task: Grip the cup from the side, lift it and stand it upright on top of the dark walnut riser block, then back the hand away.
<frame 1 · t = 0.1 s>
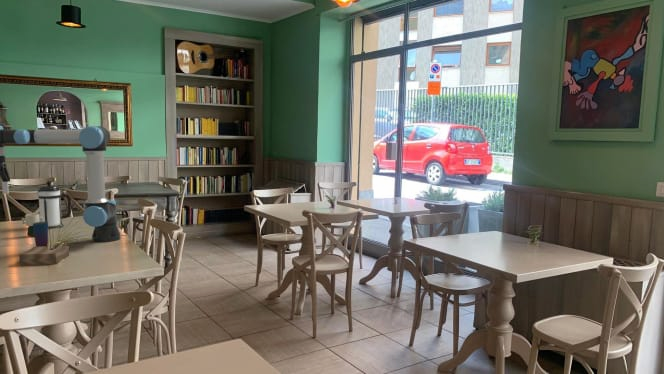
walnut riser: (45, 260, 245), on the table
character mug: (33, 236, 300), on the table
cup: (42, 251, 263), on the table
coffee press: (53, 227, 328), on the table
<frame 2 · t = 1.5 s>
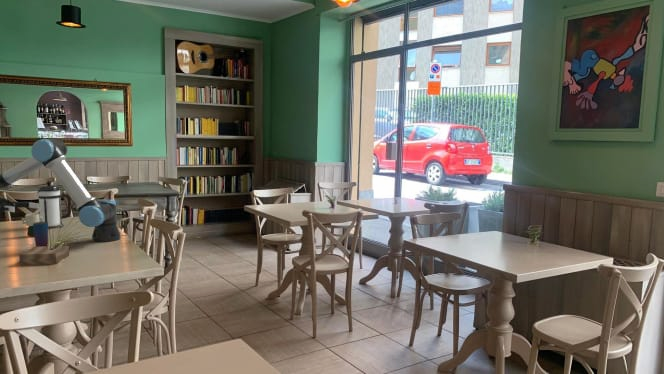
hand: (26, 207, 264), 22 cm above the table, tool horizontal, fingers open, 13 cm apart
nothing on the table moved.
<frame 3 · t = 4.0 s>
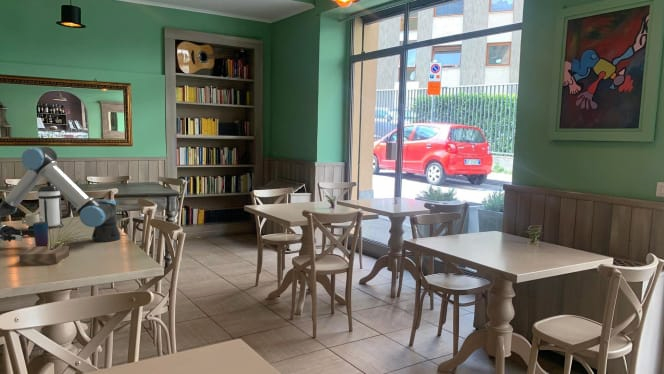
hand: (33, 235, 263), 8 cm above the table, tool horizontal, fingers open, 13 cm apart
nothing on the table moved.
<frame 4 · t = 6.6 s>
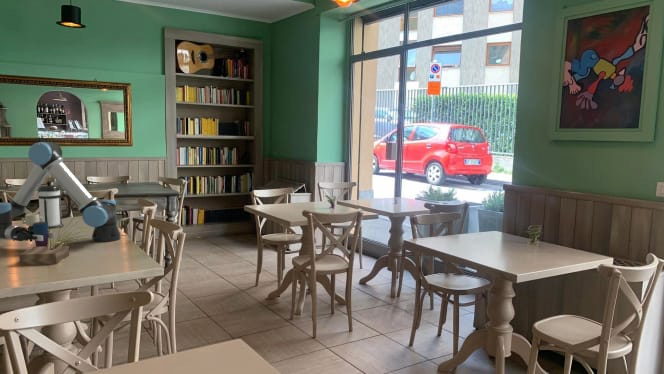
hand: (48, 237, 260), 8 cm above the table, tool horizontal, fingers closed on cup, 6 cm apart
cup: (42, 251, 263), on the table, touching gripper
everything else where it was.
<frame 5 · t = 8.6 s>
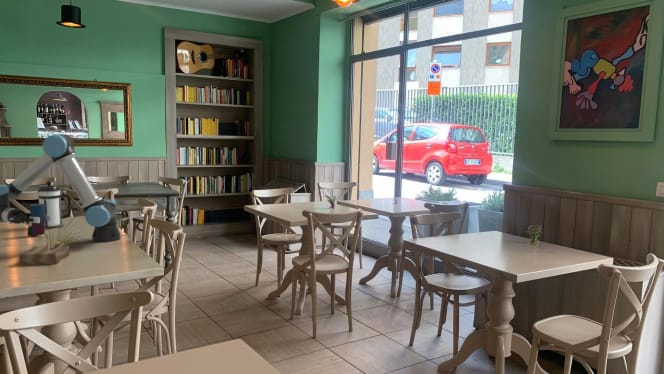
hand: (45, 219, 255), 18 cm above the table, tool horizontal, fingers closed on cup, 6 cm apart
cup: (39, 234, 258), point 10 cm above the table, touching gripper
everything else where it was.
when the fingers open (14 cm above the table, at t = 10.7 s): cup drops 1 cm, resting on walnut riser.
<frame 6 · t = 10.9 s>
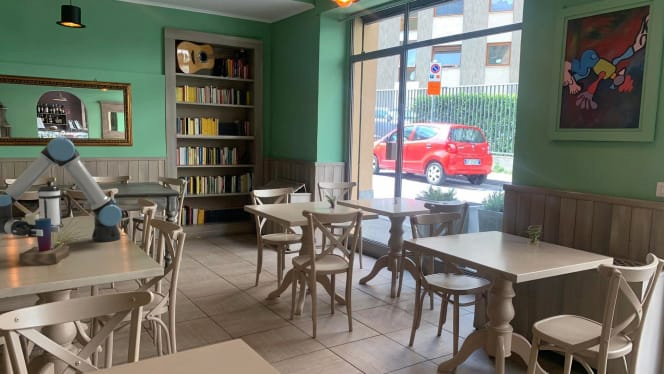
hand: (50, 231, 242), 14 cm above the table, tool horizontal, fingers open, 8 cm apart
cup: (44, 250, 245), point 5 cm above the table, touching walnut riser
everything else where it was.
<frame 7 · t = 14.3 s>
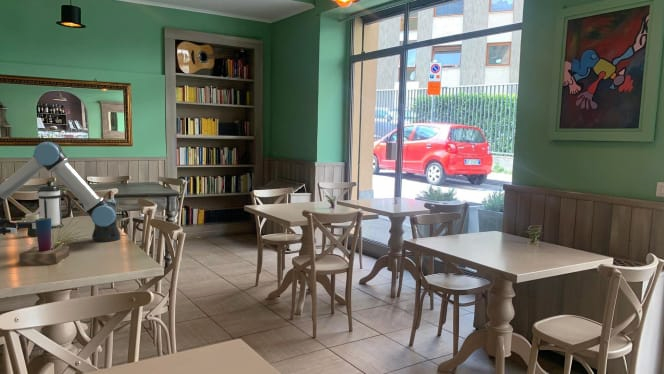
hand: (29, 229, 247), 14 cm above the table, tool horizontal, fingers open, 13 cm apart
nothing on the table moved.
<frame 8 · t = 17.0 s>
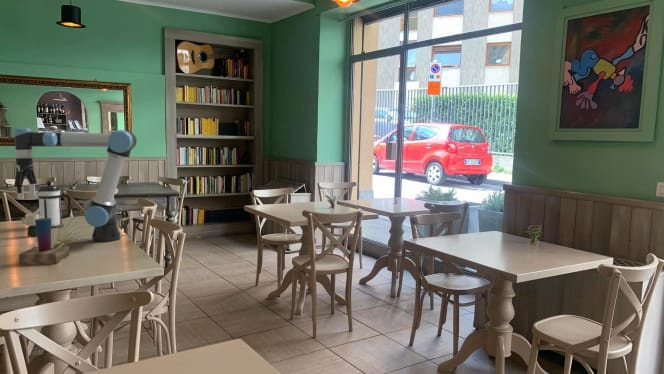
hand: (26, 197, 270), 27 cm above the table, tool pointing down, fingers open, 13 cm apart
nothing on the table moved.
at the end: cup inside the target area on the walnut riser (0.1 cm from its centre), point 4.8 cm above the walnut riser's base; cup tilted 1°; the gripper is holding nothing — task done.
